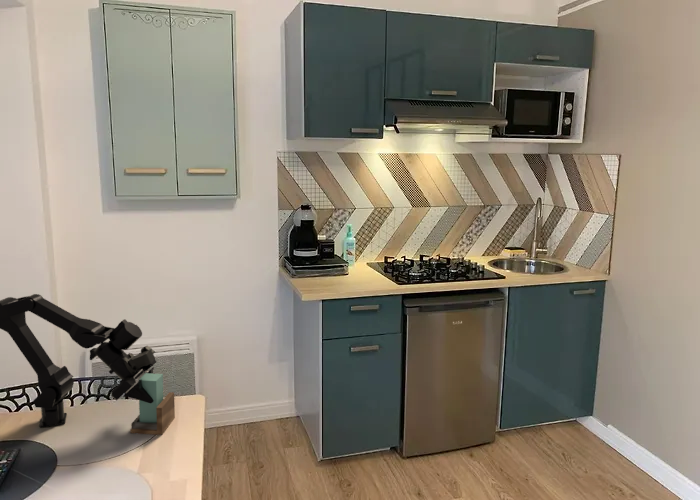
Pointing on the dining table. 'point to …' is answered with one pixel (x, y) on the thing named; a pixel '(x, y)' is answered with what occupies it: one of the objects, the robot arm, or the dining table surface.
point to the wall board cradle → (163, 418)
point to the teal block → (155, 390)
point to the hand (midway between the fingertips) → (156, 398)
